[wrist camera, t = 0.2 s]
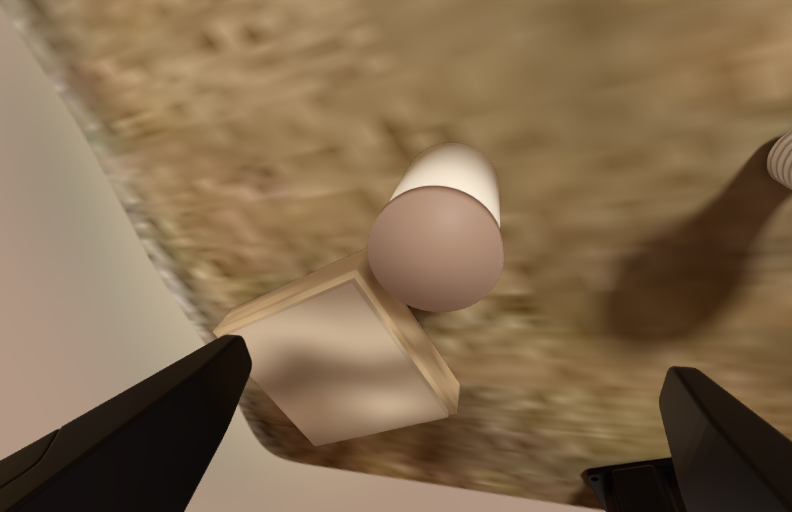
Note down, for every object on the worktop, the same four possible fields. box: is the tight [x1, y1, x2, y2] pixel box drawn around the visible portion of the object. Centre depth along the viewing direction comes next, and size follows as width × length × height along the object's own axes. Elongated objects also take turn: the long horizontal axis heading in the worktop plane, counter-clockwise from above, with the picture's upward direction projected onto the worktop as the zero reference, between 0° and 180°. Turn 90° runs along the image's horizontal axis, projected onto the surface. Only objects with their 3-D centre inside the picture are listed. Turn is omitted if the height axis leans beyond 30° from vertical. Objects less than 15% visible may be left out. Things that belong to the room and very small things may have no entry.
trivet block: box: [213, 248, 460, 447], centre depth 28 cm, size 12×12×3 cm
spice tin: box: [367, 143, 504, 312], centre depth 19 cm, size 5×5×7 cm
